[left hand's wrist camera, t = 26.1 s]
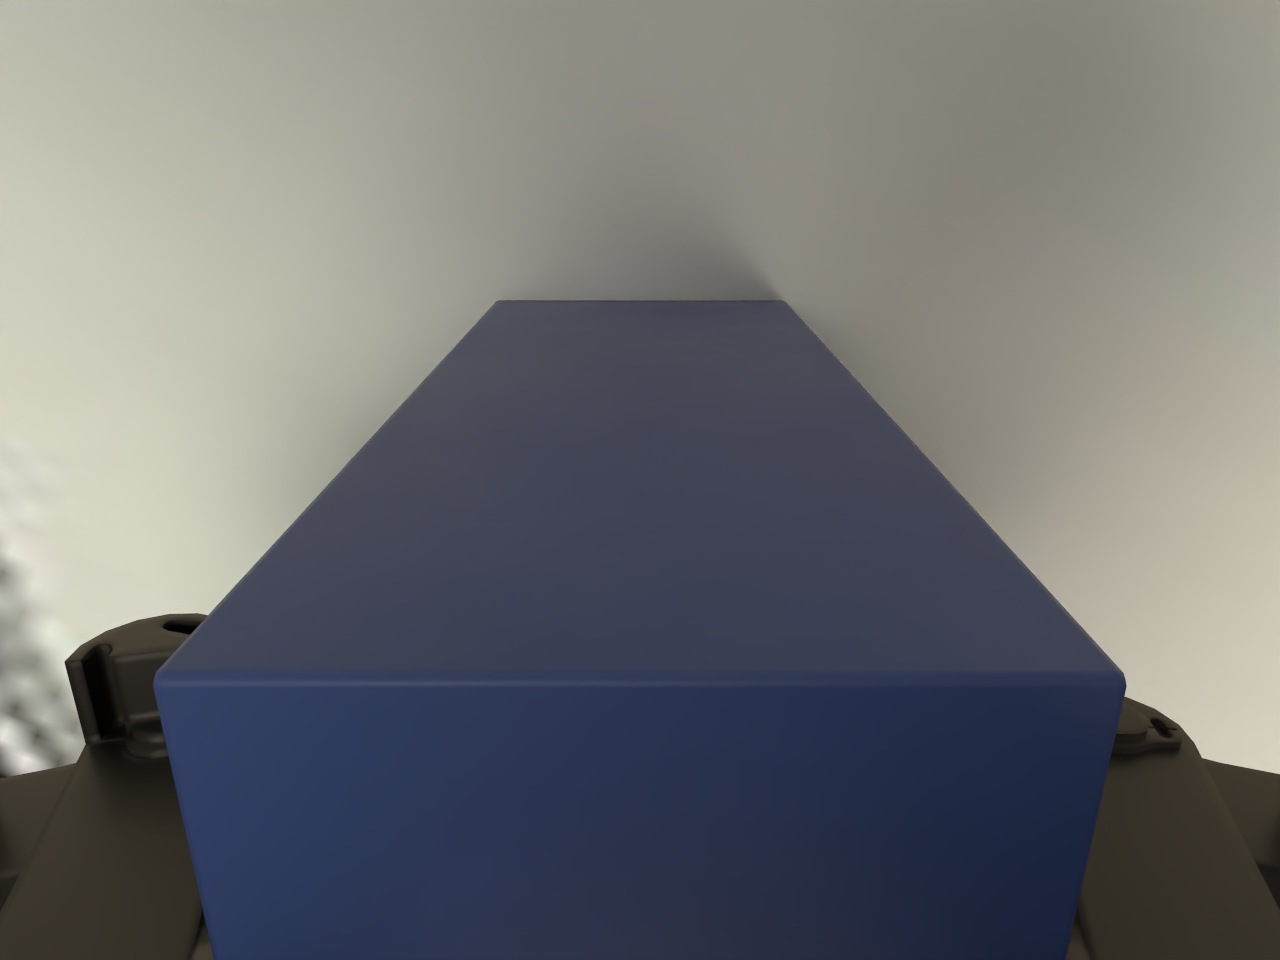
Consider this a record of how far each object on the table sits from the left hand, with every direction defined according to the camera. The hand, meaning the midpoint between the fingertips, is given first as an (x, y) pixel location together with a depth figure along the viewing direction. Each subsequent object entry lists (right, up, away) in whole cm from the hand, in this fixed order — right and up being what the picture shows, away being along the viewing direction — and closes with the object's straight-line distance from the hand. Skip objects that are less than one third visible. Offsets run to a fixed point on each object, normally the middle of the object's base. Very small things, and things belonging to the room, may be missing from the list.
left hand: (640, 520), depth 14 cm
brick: (0, +1, +2) cm, 2 cm away
